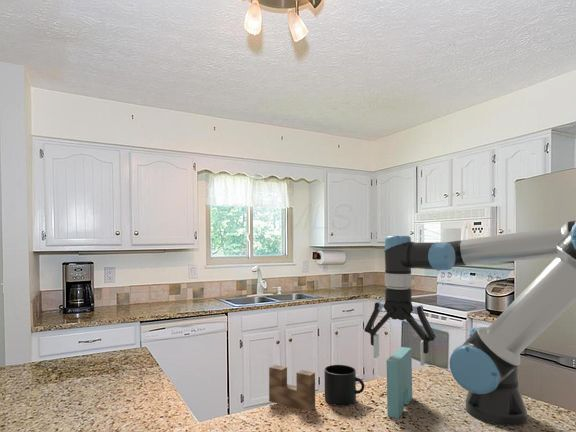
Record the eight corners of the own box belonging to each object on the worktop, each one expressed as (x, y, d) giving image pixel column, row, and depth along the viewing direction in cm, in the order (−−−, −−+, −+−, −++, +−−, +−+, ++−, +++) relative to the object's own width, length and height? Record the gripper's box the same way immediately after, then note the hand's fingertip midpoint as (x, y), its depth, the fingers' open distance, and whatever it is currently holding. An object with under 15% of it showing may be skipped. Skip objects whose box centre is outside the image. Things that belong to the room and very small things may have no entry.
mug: (363, 409, 111) (362, 376, 112) (322, 404, 114) (321, 373, 115) (365, 396, 120) (365, 366, 121) (327, 392, 124) (327, 363, 124)
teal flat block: (402, 396, 121) (401, 346, 122) (412, 398, 119) (411, 348, 120) (387, 416, 107) (386, 360, 108) (398, 418, 105) (397, 362, 106)
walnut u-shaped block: (315, 407, 112) (315, 372, 113) (310, 411, 110) (310, 375, 110) (274, 397, 119) (274, 364, 120) (269, 401, 117) (269, 367, 117)
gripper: (444, 289, 112) (446, 364, 111) (362, 283, 125) (362, 350, 124) (440, 292, 106) (441, 371, 104) (353, 286, 118) (354, 356, 117)
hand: (399, 360), depth 114 cm, fingers open, 13 cm apart
